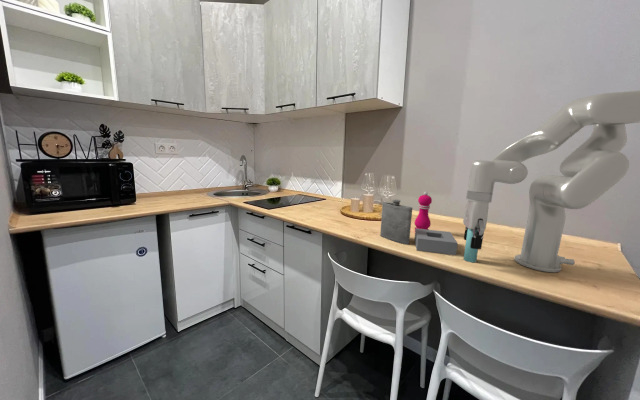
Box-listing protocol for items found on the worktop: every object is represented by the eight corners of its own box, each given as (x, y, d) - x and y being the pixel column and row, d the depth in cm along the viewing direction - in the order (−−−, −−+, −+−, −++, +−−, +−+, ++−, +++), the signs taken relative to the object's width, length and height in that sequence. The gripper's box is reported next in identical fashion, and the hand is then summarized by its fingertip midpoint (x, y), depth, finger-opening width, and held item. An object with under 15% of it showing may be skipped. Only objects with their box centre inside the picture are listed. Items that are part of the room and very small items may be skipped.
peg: (474, 258, 93) (480, 222, 90) (477, 263, 89) (483, 225, 86) (462, 257, 94) (467, 221, 91) (464, 261, 90) (470, 224, 88)
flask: (405, 245, 105) (409, 203, 101) (377, 236, 115) (380, 197, 112) (410, 243, 107) (414, 202, 103) (382, 234, 118) (385, 196, 114)
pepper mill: (426, 230, 126) (431, 190, 122) (431, 235, 119) (436, 193, 115) (412, 229, 127) (415, 190, 123) (415, 234, 120) (420, 192, 116)
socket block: (448, 243, 109) (450, 231, 108) (455, 255, 96) (457, 242, 95) (414, 239, 113) (415, 228, 112) (416, 250, 99) (417, 238, 99)
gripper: (461, 192, 96) (455, 235, 100) (474, 200, 80) (466, 251, 83) (483, 193, 94) (476, 237, 98) (501, 202, 78) (492, 254, 81)
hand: (471, 244), depth 90 cm, fingers open, 8 cm apart
